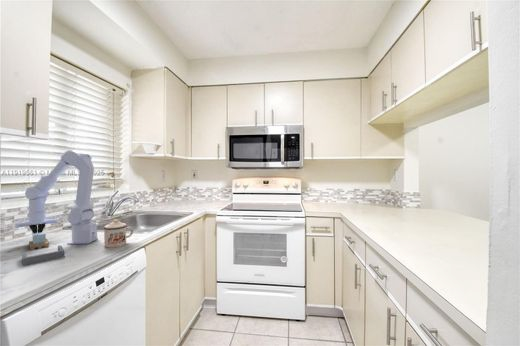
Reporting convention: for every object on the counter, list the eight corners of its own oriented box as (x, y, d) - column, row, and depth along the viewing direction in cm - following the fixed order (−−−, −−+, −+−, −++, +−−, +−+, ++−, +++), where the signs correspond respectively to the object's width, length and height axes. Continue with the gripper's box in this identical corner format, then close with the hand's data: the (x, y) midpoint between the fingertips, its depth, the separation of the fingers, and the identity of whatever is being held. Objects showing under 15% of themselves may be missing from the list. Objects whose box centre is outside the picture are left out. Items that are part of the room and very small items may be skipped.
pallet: (29, 245, 105) (29, 241, 105) (46, 242, 110) (46, 238, 110) (30, 250, 99) (30, 245, 99) (49, 247, 104) (49, 242, 104)
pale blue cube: (32, 242, 104) (32, 233, 104) (44, 240, 107) (44, 232, 107) (33, 244, 101) (33, 235, 101) (45, 242, 104) (45, 233, 104)
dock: (22, 258, 89) (22, 252, 89) (61, 251, 98) (61, 245, 98) (23, 265, 83) (23, 258, 83) (64, 256, 92) (64, 250, 92)
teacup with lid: (105, 249, 100) (105, 223, 100) (102, 244, 107) (101, 219, 107) (135, 243, 109) (135, 219, 109) (130, 239, 115) (130, 216, 115)
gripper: (56, 209, 118) (56, 235, 118) (15, 212, 107) (15, 241, 107) (58, 210, 113) (58, 238, 113) (15, 214, 102) (15, 245, 102)
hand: (37, 240), depth 110 cm, fingers closed
